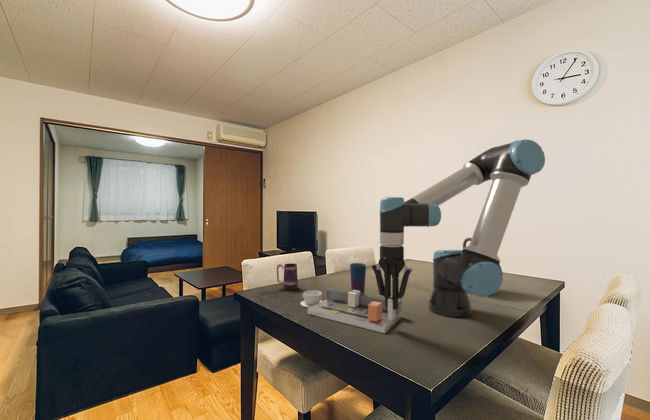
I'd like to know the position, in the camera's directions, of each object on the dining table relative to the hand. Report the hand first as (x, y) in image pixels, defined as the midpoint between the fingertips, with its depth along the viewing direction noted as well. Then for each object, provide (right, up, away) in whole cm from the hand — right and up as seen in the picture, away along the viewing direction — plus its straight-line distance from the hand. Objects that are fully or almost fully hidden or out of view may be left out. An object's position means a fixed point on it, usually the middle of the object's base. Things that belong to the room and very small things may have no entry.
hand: (391, 318), depth 93 cm
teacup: (-26, -4, +25) cm, 36 cm away
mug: (-40, -3, +47) cm, 61 cm away
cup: (-7, -4, +30) cm, 31 cm away
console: (-11, -4, +12) cm, 17 cm away
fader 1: (-10, -1, +17) cm, 19 cm away
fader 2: (-5, -1, +3) cm, 6 cm away
